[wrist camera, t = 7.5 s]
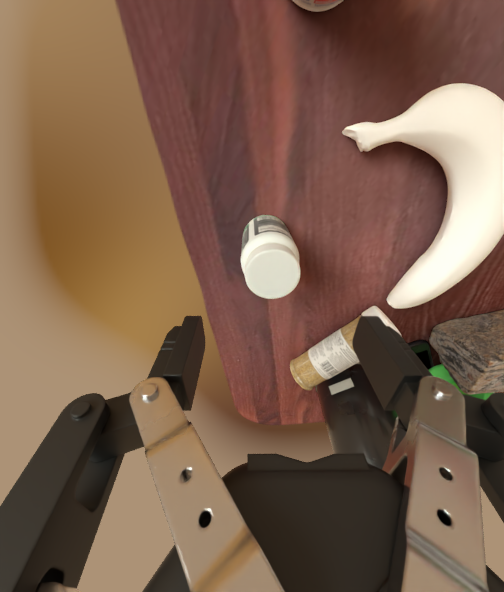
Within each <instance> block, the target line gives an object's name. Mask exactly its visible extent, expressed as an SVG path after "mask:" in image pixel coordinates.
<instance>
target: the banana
mask: <svg viewBox="0 0 504 592" xmlns="http://www.w3.org/2000/svg"><path fill="white" fill-rule="evenodd" d="M342 134H343V135H345V136H348V137H350V138H351V139H353V140H355V141H356V143H357V146H358V148H359V150H360V152H362V151H363V150H364V151H366V152H367V151H370V150H371V149H373V148H375V147H377V146H379V145H382V144H385V143H390V142H394V141H399V142H403V143H406V144H409V145H412V146H414V147H417V148H419V149H421V150H423V151H425V152H427V153H428V154H430V155H431V156H433V157H434V158H435V159H436V160H437V161H438V162H439V163H440V165H441V166H442V168H443V170H444V172H445V175H446V179H447V185H448V197H447V206H446V211H445V215H444V219H443V222H442V225H441V227H440V230H439V232H438V234H437V236H436V237H435V239H434V241H433V242H432V244H431V246H430V247H429V248H428V250H427V251H426V252H425V253H424V254H423V255H421V256H420V257H419V258H418V259H417V261H416V262H415V263H414V264H413V265H412V266H411V268H410V269H409V270H408V271H407V272H406V273H405V275H404V276H403V277H402V278H401V279H400V281H399V282H398V283H397V284H396V285H395V287H394V288H393V289H392V291H391V292H390V293H389V295H388V297H387V299H386V300H387V302H388V304H389V305H390V306H392V307H393V308H399V309H402V308H410V307H414V306H417V305H420V304H423V303H425V302H428V301H430V300H432V299H434V298H435V297H437V296H439V295H440V294H442V293H444V292H445V291H447V290H448V289H450V288H451V287H452V286H454V285H455V284H457V283H458V282H459V281H461V280H462V279H463V278H465V277H466V276H467V275H468V274H469V273H470V272H472V271H473V270H474V269H475V268H476V267H477V266H478V265H479V264H480V263H481V262H482V261H483V260H484V259H485V258H486V257H487V256H488V255H489V253H490V252H491V251H492V250H493V249H494V247H495V246H496V245H497V243H498V242H499V240H500V239H501V237H502V235H503V234H504V101H502V100H501V99H500V98H499V97H498V96H497V95H496V94H494V93H492V92H490V91H489V90H487V89H485V88H482V87H479V86H476V85H472V84H466V83H457V84H449V85H445V86H442V87H439V88H437V89H435V90H432V91H430V92H429V93H427V94H426V95H424V96H423V97H422V98H420V99H419V100H418V101H417V102H416V103H415V104H414V105H412V106H411V107H410V108H409V109H408V110H407V111H406V112H404V113H402V114H401V115H399V116H397V117H395V118H392V119H390V120H387V121H384V122H380V123H371V122H363V123H358V124H354V125H352V126H349V127H346V128H345V129H344V130H343V132H342Z"/></svg>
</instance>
